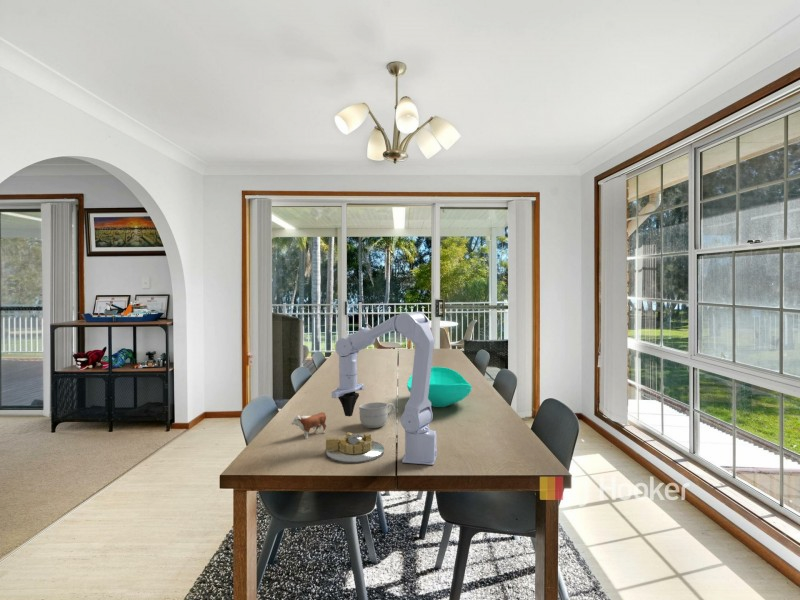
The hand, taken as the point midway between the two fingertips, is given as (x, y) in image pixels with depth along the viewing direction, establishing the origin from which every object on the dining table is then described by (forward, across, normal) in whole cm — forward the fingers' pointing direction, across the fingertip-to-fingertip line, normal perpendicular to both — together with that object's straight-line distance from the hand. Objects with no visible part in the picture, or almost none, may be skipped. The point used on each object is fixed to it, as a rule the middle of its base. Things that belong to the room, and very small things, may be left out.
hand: (348, 415), depth 151 cm
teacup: (+10, -22, -4) cm, 25 cm away
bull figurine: (+10, 0, -17) cm, 20 cm away
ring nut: (+8, +5, +4) cm, 10 cm away
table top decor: (+10, -60, +3) cm, 60 cm away
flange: (+10, +4, +6) cm, 12 cm away
